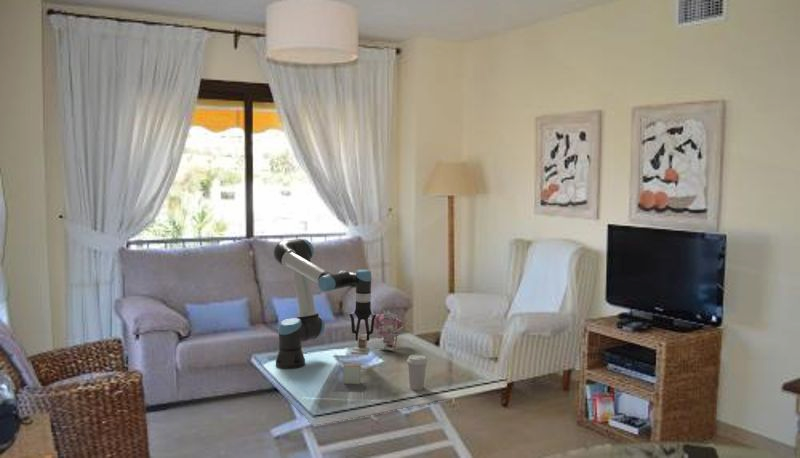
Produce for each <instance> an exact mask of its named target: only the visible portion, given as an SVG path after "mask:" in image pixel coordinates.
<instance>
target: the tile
mask: <svg viewBox="0 0 800 458" xmlns="http://www.w3.org/2000/svg"><path fill="white" fill-rule="evenodd" d="M343 382H344V384H361V383H362V364H357V363H355V364H351V363H350V364H348V363H343Z"/></svg>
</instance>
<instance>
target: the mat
mask: <svg viewBox="0 0 800 458" xmlns="http://www.w3.org/2000/svg"><path fill="white" fill-rule="evenodd" d="M367 384H368V382H361V384H344V381H338V382H337V383H336V386H335V387H334V389H333V392H342V393H343V392H344V393H346V392H347V393H364V392H365V391H366V387H367V386H368V385H367Z"/></svg>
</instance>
